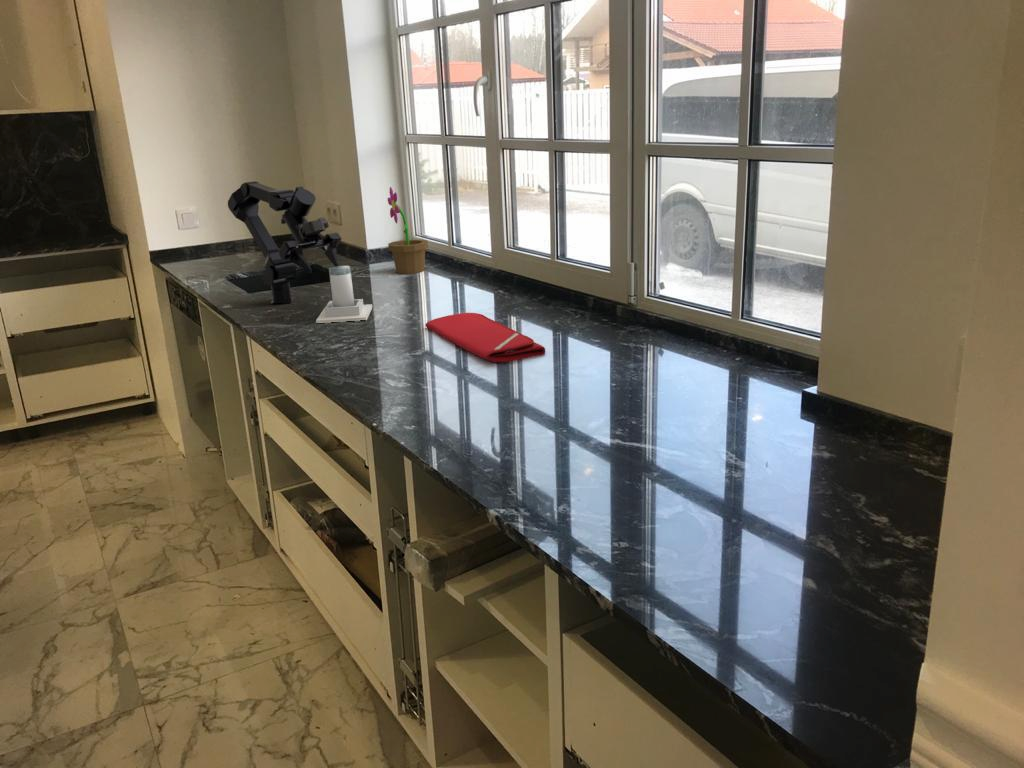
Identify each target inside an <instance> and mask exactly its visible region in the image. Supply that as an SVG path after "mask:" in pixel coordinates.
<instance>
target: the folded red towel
mask: <svg viewBox="0 0 1024 768" xmlns="http://www.w3.org/2000/svg"><path fill="white" fill-rule="evenodd" d="M425 327H426V328H428V329H429V330H431V332H434V333H435V334H437V335H439V336H440V337H442V338H444V339H445V340H447V341H449V342H451V343H453V344H454V345H457V346H458V347H460V348H462V349H464V350H465V351H468V352H469V353H471V354H473V355H476V356H478V357H480V358H482V359H485V360H488V361H490V362H494V363H507V362H514V361H519V360H524V359H529V358H533V357H532V356H535V357H538V356H537V355H540V356H544V355H543V354H546V347H544V346H543V345H542V344H539V343H537V342H535V340H534V339H533V338H532V337H529V336H527V335H525V334H523V333H521V332H518V331H516V330H515V329H513V328H510V327H508V326H506V325H503V324H501V323H500V322H497V321H495V320H493V319H492V318H489V317H487V316H486V315H485V314H482V313H477V312H462V313H455V314H451V315H449V314H448V315H444V316H440V317H437V318H433V319H431V320H429V321H427V322H426V323H425ZM528 357H529V358H528Z"/></svg>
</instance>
